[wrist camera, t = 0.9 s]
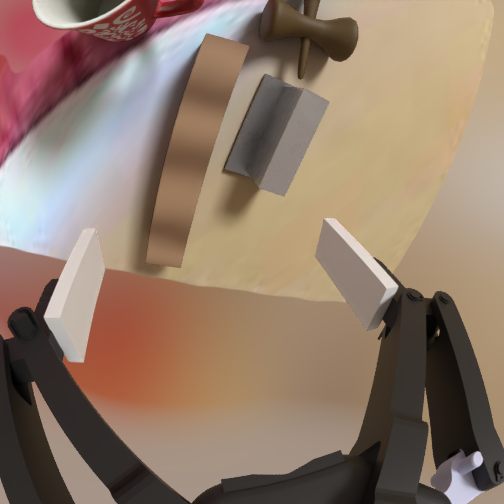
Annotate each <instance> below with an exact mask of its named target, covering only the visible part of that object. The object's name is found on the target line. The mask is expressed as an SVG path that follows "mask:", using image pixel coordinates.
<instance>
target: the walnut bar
mask: <svg viewBox="0 0 504 504" xmlns="http://www.w3.org/2000/svg"><path fill="white" fill-rule="evenodd" d="M249 47H250V46H248V45H245V44H242V43H239V42H235V41H232V40H229V39H225V38H222V37H218V36H215V35H211V34H207V33H206V35H205V37H204V39H203V41H202V43H201V46H200V49H199V51H198V54H197V56H196V59H195V62H194V65H193V67H192V70H191V73H190V76H189V79H188V82H187V85H186V88H185V91H184V94H183V97H182V100H181V103H180V106H179V110H178V113H177V116H176V120H175V123H174V127H173V130H172V134H171V138H170V141H169V145H168V149H167V153H166V157H165V161H164V165H163V169H162V173H161V178H160V182H159V187H158V191H157V196H156V201H155V206H154V211H153V217H152V222H151V228H150V233H149V240H148V247H147V255H146V263H150V264H156V265H163V266H170V267H177V268H181V264H182V260H183V256H184V251H185V247H186V243H187V239H188V235H189V231H190V228H191V224H192V220H193V216H194V212H195V209H196V205H197V201H198V198H199V194H200V191H201V187H202V184H203V180H204V177H205V174H206V170H207V167H208V164H209V160H210V157H211V154H212V151H213V147H214V144H215V141H216V138H217V135H218V132H219V129H220V126H221V123H222V120H223V117H224V114H225V111H226V108H227V105H228V102H229V100H230V97H231V94H232V91H233V88H234V86H235V83H236V80H237V78H238V75H239V72H240V70H241V67H242V64H243V62H244V59H245V57H246V54H247V52H248V49H249Z"/></svg>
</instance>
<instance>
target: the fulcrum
mask: <svg viewBox="0 0 504 504" xmlns="http://www.w3.org/2000/svg"><path fill="white" fill-rule="evenodd" d="M328 104H329V101H327V100H326V99H324V98H322V97H320V96H318V95H317V94H315V93H313V92H311V91H309V90H307V89H305V88H297V87H294V86H292V85H289V84H287V83H285V82H283V81H281V80H279V79H277V78H275V77H272V76H270V75H268V74H265V75H264V77H263V79H262V81H261V83H260V86H259V88H258V90H257V92H256V94H255V97H254V99H253V101H252V103H251V106H250V108H249V110H248V112H247V115H246V117H245V119H244V122H243V124H242V126H241V129H240V131H239V133H238V136H237V138H236V140H235V143H234V145H233V148H232V150H231V153H230V155H229V157H228V160H227V162H226V165H225V167H224V168H225V169H226V170H229V171H232V172H235V173H238V174H242V175H245V176H248V177H251V178H252V180H253V181H254V182H255V184H256V185H257V186H258V188H260V189H263V190H266V191H269V192H272V193H275V194H278V195H281V196H284V197H285V194H286V192H287V190H288V188H289V186H290V184H291V182H292V180H293V178H294V176H295V174H296V171H297V169H298V167H299V165H300V163H301V161H302V159H303V157H304V155H305V153H306V150H307V148H308V146H309V144H310V142H311V140H312V138H313V136H314V134H315V132H316V129H317V127H318V125H319V123H320V121H321V119H322V117H323V115H324V112H325V110H326V108H327V106H328Z"/></svg>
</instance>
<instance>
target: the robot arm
mask: <svg viewBox="0 0 504 504" xmlns="http://www.w3.org/2000/svg"><path fill="white" fill-rule="evenodd" d="M315 257H316V258H317V260H318V261H319V263H320V264H321V265H322V267H323V268H324V270H325V271H326V272H327V274H328V275H329V277H330V278H331V280H332V281H333V282H334V284H335V285H336V287H337V288H338V290H339V291H340V293H341V294H342V296H343V297H344V298H345V300H346V301H347V303H348V304H349V306H350V307H351V309H352V310H353V312H354V313H355V315H356V316H357V318H358V319H359V321H360V322H361V324H362V325H363V327H364V328H365V330H366V331H368V330H372V329H376V328H378V326H379V325H380V323H381V321H382V319H383V321H384V322H385V324H386V325H385V327H384V328H383V330H382V332H381V334H380V336H379V337H378V340H380V338H381V337H382V340H381V346H380V351H379V357H378V362H377V367H376V372H375V376H374V381H373V386H372V390H371V394H370V398H369V402H368V406H367V410H366V413H365V417H364V420H363V424H362V427H361V431H360V434H359V437H358V440H357V442H356V443H355V445H354V447H353V448H352V450H351V451H350V453H349V455H342V453H341V450H339V451H337V452H334V453H331V454H328V455H325V456H322V457H319V458H316V459H313V460H312V461H310V462H308V463H307V464H305V465H303V466H301V467H300V468H298V469H296V470H294V471H293V472H291V473H289V474H284V475H255V474H254V475H253V474H252V475H247V476H241V477H235V478H229V479H222V480H221V484H218V485H216V486H214V487H211V488H209V489H207V490H206V491H205V492H203V493H202V494H200V495H199V496H198V497H197V498H196V499H195V500H194V501H193V502H192V504H467V503H468V502H470V501H471V500H472V499H474V498H475V497H476V496H477V495H479V494H481V493H483V492H485V491H487V490H489V489H491V488H494V487H495V486H498V485H500V484H501V483H502V482H504V448H503V446H502V444H501V441H500V439H499V437H498V434H497V432H496V430H495V428H494V424H493V419H492V415H491V410H490V405H489V402H488V397H487V394H486V390H485V386H484V382H483V379H482V375H481V372H480V369H479V366H478V363H477V360H476V357H475V354H474V351H473V348H472V345H471V342H470V340H469V337H468V334H467V332H466V329H465V327H464V324H463V322H462V319H461V317H460V314H459V312H458V310H457V307H456V305H455V303H454V301H453V299H452V298H451V297H450V296H449V295H448V294H446V293H445V292H442V291H437V292H436V293H435V294H434V296H433V298H432V299H431V298H430V299H429V298H424V297H423V295H422V294H421V293H419V292H418V291H417V290H415V289H411V288H405V287H404V286H403V285H402V284H401V283H400V282H399V280H398V279H397V278H396V277H395V276H394V275H393V274H391V272H390V270H389V269H387V267H386V266H385V265H384V264H383V263H382V262H381V261H379V260H378V259H376V258H375V257H372V256H371V255H370V254H369V253H368V252H367V251H366V250H365V249H364V248H363V247H362V246H361V245H360V244H359V243H358V242H357V240H356V239H355V238H354V237H353V236H352V235H351V234H350V233H349V232H348V231H347V230H346V229H345V228H344V227H343V226H342V225H341V224H340V223H339V222H338V221H337V220H336V219H335V218H324V220H323V225H322V229H321V233H320V238H319V242H318V246H317V250H316V254H315ZM104 271H105V267H104V263H103V258H102V254H101V250H100V245H99V240H98V236H97V231H96V228H91V229H83V231H82V233H81V235H80V237H79V239H78V241H77V243H76V245H75V247H74V249H73V251H72V253H71V255H70V257H69V259H68V261H67V263H66V265H65V267H64V270H63V272H62V274H61V276H60V278H59V279H52V280H51V281H50V282H49V283H48V284H47V285H46V286H45V288H44V291H43V293H42V295H41V297H40V300H39V302H38V304H37V307H36V309H35V312H33V310H31V308H29V307H21V308H19V309H17V310H15V311H14V312H13V313H12V314H11V315H10V317H9V319H8V327H9V329H10V331H11V332H12V334H13V335H14V337H13V338H10V339H6V340H4V339H3V337H2V336H1V335H0V478H1V481H2V484H3V487H4V490H5V493H6V495H7V498H8V500H9V503H10V504H75V503H74V501H73V499H72V497H71V495H70V493H69V491H68V489H67V487H66V485H65V483H64V480H63V478H62V476H61V474H60V472H59V469H58V467H57V465H56V462H55V460H54V457H53V455H52V452H51V449H50V446H49V444H48V441H47V438H46V435H45V432H44V429H43V426H42V422H41V419H40V416H39V412H38V409H37V405H36V401H35V397H34V393H33V388H32V384H31V382H34V381H35V383H36V385H37V386H38V388H39V390H40V392H41V394H42V396H43V398H44V400H45V401H46V403H47V405H48V406H49V408H50V410H51V412H52V413H53V415H54V417H55V418H56V420H57V422H58V423H59V425H60V426H61V428H62V429H63V431H64V433H65V434H66V436H67V437H68V438H69V440H70V441H71V442H72V444H73V446H74V447H75V448H76V450H77V451H78V452H79V454H80V455H81V456H82V458H83V459H84V460H85V462H86V463H87V464H88V465H89V467H90V468H91V469H92V470H93V472H94V473H95V474H96V475H97V476H98V478H99V479H100V480H101V481H102V482H103V483H104V485H105V486H106V487H107V488H108V489H109V491H110V492H111V495H112V497H113V498H114V500H115V501H116V502H117V503H118V504H191V503H190V502H189V501H187V500H186V499H185V498H184V497H182V496H181V495H180V494H178V493H177V492H176V491H175V490H174V489H172V488H171V487H170V486H169V485H168V484H166V483H165V482H164V481H163V480H162V479H161V478H159V477H158V476H157V475H156V474H155V473H154V472H153V471H152V470H150V468H148V467H147V466H146V465H145V464H144V463H143V462H142V461H141V460H140V459H139V458H138V457H137V456H136V455H135V454H134V453H133V452H132V451H131V450H130V449H129V448H128V447H127V445H126V444H125V443H124V442H123V441H122V440H121V439H120V438H119V437H118V436H117V434H116V433H115V432H114V431H113V430H112V429H111V427H110V426H109V425H108V424H107V423H106V422H105V421H104V419H103V418H102V417H101V415H100V414H99V413H98V412H97V410H96V409H95V408H94V407H93V405H92V404H91V403H90V401H89V400H88V399H87V397H86V396H85V395H84V393H83V392H82V391H81V389H80V388H79V386H78V385H77V383H76V382H75V380H74V379H73V377H72V376H71V374H70V373H69V371H68V370H67V368H66V367H65V365H64V364H63V362H62V361H63V356H64V355H65V356H66V358H67V360H68V361H69V362H84V357H85V352H86V347H87V342H88V337H89V332H90V327H91V322H92V317H93V313H94V309H95V305H96V301H97V297H98V293H99V290H100V286H101V282H102V279H103V275H104ZM438 330H440V333H439V336H438V334H437V331H438ZM425 388H426V395H427V401H428V409H429V417H430V426H431V437H432V449H433V457H434V462H435V466H436V470H437V471H436V474H434V475H433V476H432V478H431V485H432V486H433V487H435V489H433V488H431V487H428V486H426V485H423V484H421V483H419V480H420V475H421V471H422V466H423V461H424V456H425V449H426V443H427V436H428V424H427V422H423V421H422V411H423V403H424V391H425Z"/></svg>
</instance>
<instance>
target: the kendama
mask: <svg viewBox="0 0 504 504" xmlns="http://www.w3.org/2000/svg"><path fill="white" fill-rule="evenodd" d="M319 3H320V0H304V15H303V14H301V13H299V12H298V11H296V10H295V9H293V8H292V7H291V6H290V5H288V4H287V3H286V2H284V1H283V0H269V1H268V2H267V4H266V6H265V8H264V10H263V13H262V16H261V21H260V29H259V32H260V38H261V40H262V41H264V42H265V41H273V40H277V39H281V38H285V37H299V38H301V48H300V56H299V66H298V78H299V79H300V80H301V79H302V78H303V76H304V73H305V68H306V64H307V59H308V54H309V48H310V43H311V41H313V42H315V43H317V44H318V45H319V46H320V47H321V48H322V49H323V50H324V51H325V52H326V53H327V54H328V55H329V56H330V58H331V59H333V60H334V61H339V62H342V61H344V60H346V59H348V58H349V57H350V56H351V55H352V53H353V51H354V49H355V47H356V45H357V41H358V26H357V23H356V21H355V20H353V19H352V18H350V17H348V18H338V19H334V20H319V19H316V15H317V11H318V7H319Z"/></svg>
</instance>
